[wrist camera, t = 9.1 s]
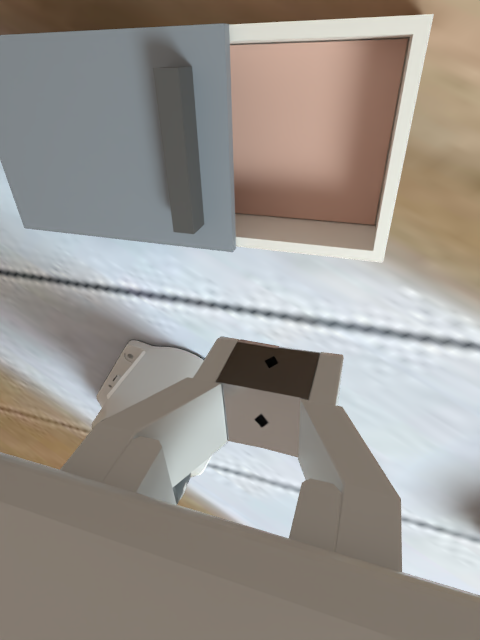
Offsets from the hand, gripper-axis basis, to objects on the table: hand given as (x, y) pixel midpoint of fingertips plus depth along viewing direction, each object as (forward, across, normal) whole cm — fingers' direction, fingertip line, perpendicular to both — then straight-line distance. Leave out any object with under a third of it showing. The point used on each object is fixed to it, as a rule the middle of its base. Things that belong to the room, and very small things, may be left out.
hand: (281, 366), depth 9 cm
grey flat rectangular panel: (+20, +18, -1) cm, 27 cm away
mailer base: (+26, +7, -1) cm, 27 cm away
